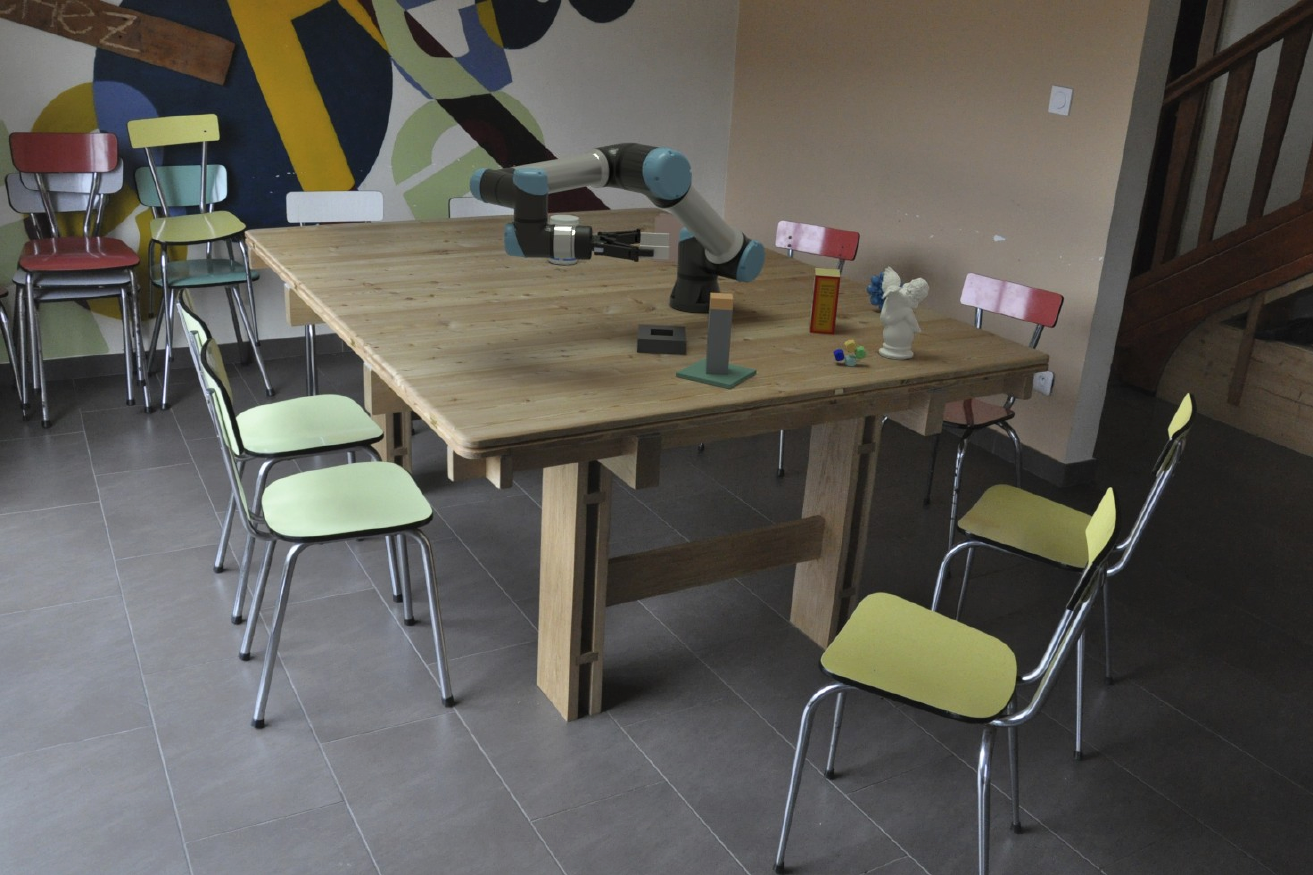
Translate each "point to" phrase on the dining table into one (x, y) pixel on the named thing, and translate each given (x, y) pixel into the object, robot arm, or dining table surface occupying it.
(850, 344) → the dice
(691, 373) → the mat
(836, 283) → the baking soda box
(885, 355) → the cherub figurine
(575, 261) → the supplement tub
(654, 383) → the dining table surface
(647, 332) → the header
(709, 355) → the plug
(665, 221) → the greeting card
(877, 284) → the grapes
